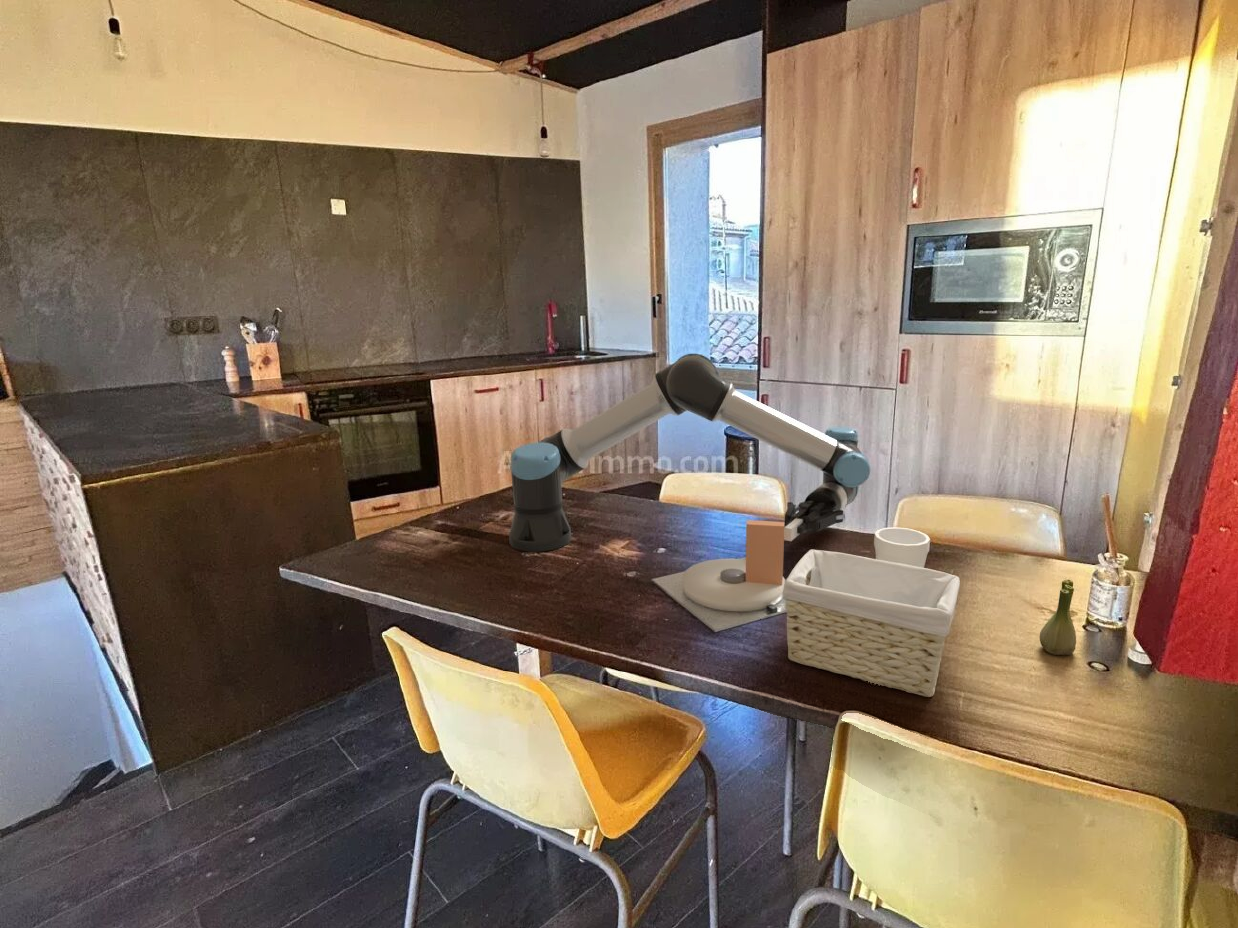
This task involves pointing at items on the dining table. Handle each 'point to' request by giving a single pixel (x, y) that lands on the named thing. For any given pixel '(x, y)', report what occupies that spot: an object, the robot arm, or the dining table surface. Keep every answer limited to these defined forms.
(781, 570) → the dial
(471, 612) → the dining table surface
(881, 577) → the storage basket
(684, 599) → the base plate
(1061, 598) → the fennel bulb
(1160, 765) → the dining table surface
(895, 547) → the foam cup
